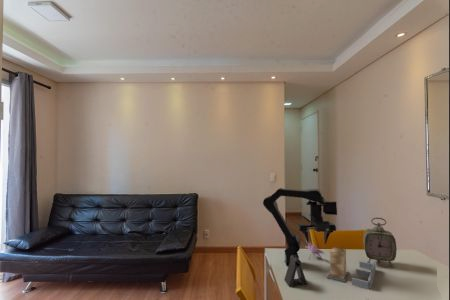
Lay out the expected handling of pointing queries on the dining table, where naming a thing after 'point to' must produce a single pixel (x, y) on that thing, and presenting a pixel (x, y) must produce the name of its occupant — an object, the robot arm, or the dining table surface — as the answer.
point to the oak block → (338, 262)
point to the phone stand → (292, 268)
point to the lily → (314, 250)
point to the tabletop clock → (379, 244)
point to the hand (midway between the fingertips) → (316, 243)
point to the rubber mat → (339, 278)
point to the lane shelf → (364, 275)
